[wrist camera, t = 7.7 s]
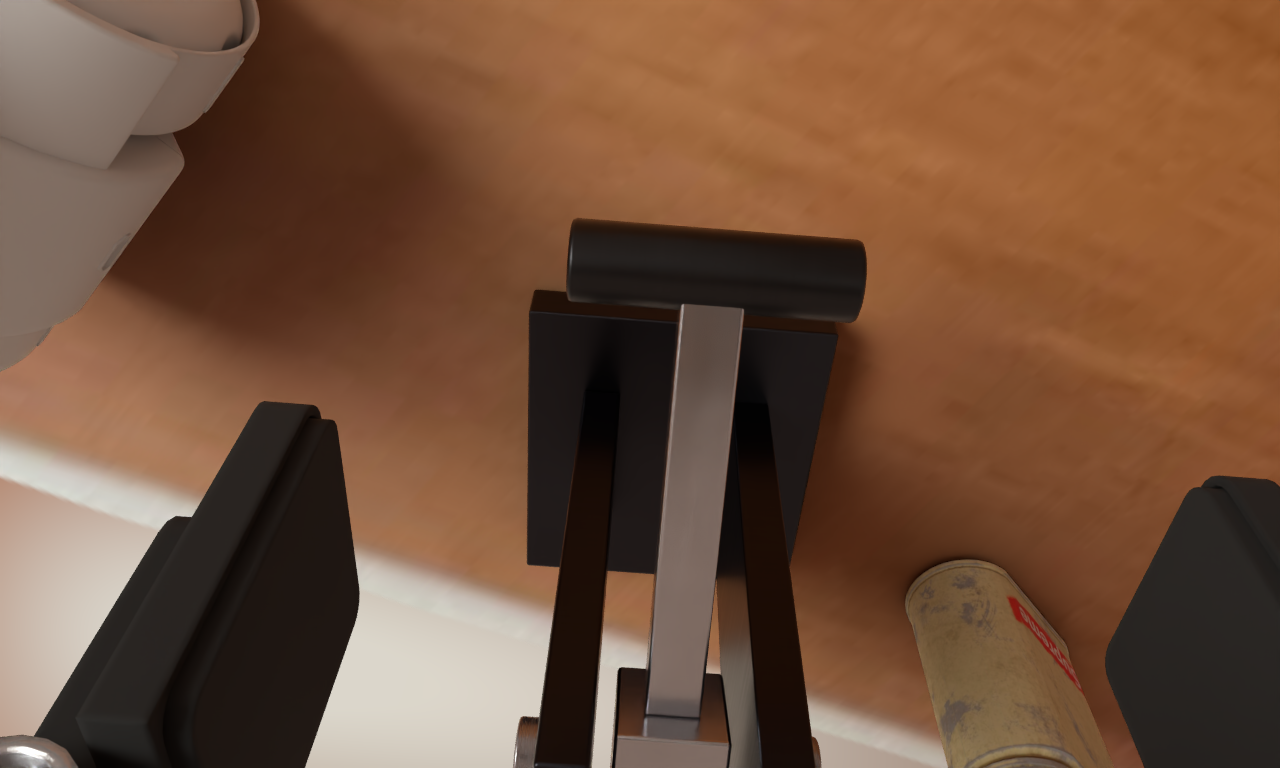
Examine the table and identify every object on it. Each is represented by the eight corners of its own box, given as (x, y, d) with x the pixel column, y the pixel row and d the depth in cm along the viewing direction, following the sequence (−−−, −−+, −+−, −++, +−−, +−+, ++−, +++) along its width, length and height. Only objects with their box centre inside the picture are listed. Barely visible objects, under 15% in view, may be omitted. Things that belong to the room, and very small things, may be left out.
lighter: (1083, 662, 34) (1213, 968, 26) (982, 705, 36) (1074, 1009, 27) (980, 538, 31) (1090, 839, 23) (875, 591, 33) (941, 893, 24)
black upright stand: (534, 288, 27) (440, 670, 16) (833, 311, 27) (935, 705, 16) (531, 538, 32) (458, 956, 21) (783, 557, 32) (835, 981, 21)
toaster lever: (577, 209, 18) (566, 227, 16) (849, 230, 18) (878, 250, 16) (544, 774, 22) (532, 856, 19) (775, 790, 22) (789, 873, 19)
